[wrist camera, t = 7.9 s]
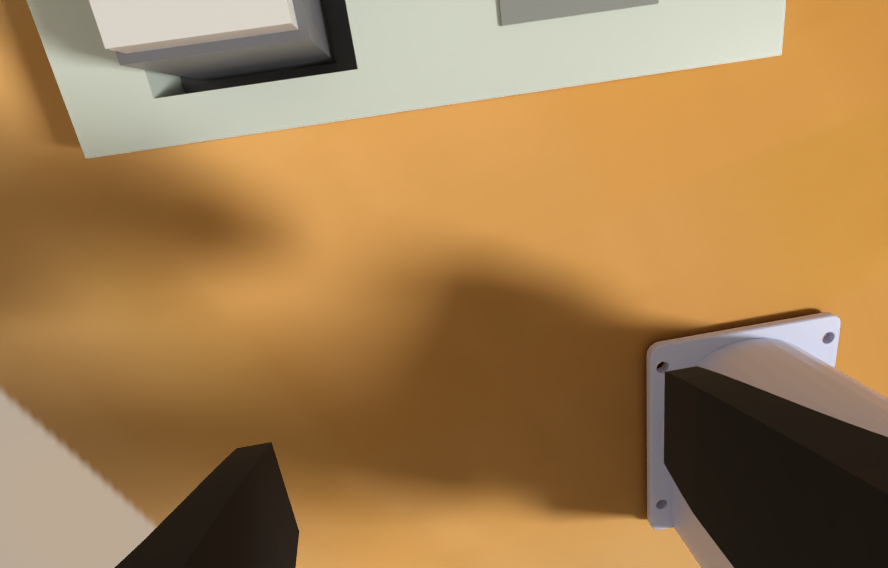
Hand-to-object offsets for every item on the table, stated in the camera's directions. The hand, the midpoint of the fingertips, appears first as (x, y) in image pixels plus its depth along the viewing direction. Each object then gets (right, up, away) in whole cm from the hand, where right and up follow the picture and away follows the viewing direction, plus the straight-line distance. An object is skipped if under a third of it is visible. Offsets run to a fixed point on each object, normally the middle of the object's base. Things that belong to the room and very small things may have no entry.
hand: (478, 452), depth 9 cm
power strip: (+2, +13, +6) cm, 15 cm away
